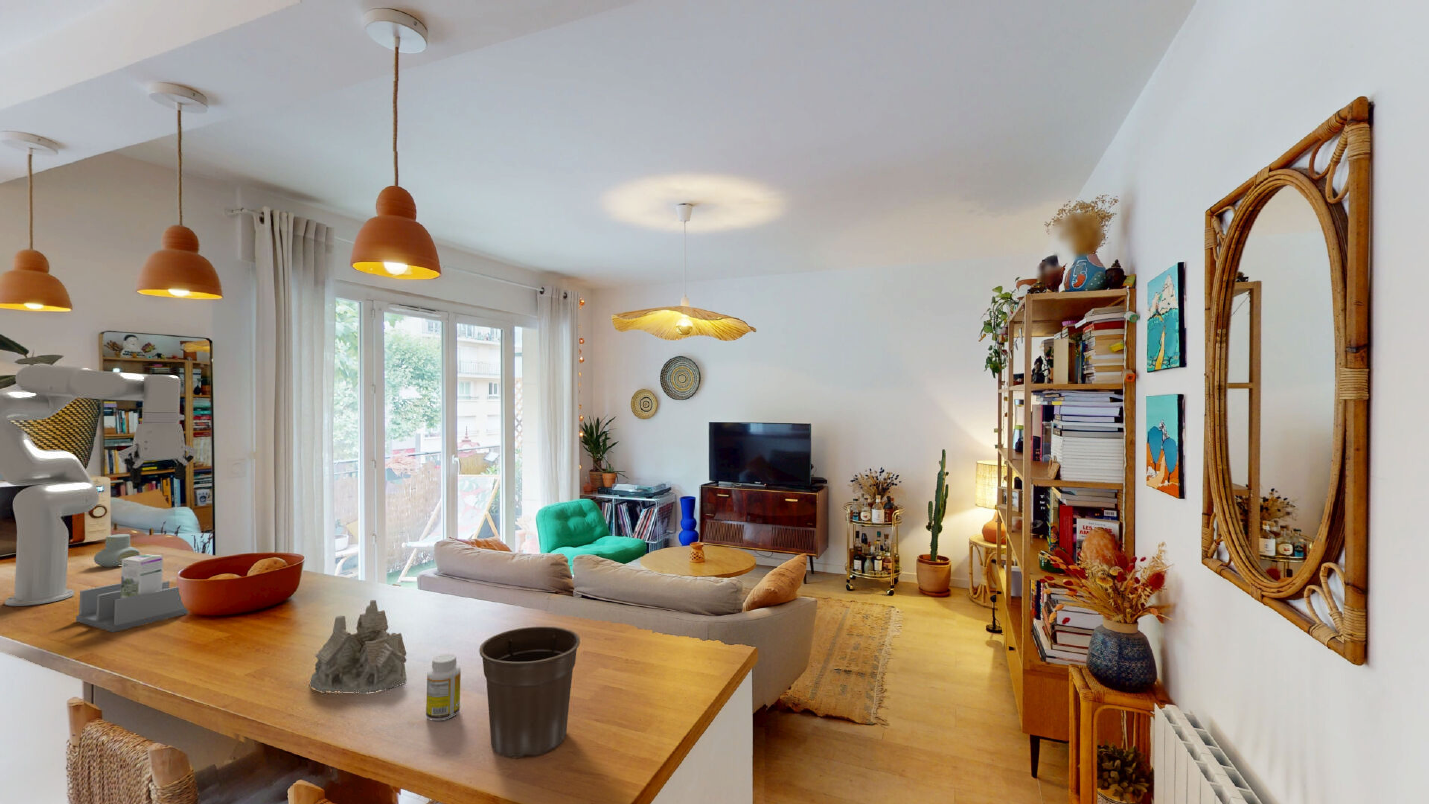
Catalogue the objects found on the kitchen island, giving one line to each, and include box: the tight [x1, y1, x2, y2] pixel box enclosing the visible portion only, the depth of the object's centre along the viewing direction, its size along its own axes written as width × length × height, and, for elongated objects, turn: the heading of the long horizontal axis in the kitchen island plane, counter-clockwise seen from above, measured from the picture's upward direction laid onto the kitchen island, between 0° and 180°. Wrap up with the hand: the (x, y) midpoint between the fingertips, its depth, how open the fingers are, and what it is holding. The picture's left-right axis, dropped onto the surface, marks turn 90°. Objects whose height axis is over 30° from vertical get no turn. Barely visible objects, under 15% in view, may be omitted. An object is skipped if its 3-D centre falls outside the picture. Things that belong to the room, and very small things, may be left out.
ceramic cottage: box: [309, 599, 408, 693], centre depth 121 cm, size 16×16×15 cm
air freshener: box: [93, 533, 141, 568], centre depth 202 cm, size 11×8×10 cm
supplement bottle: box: [425, 653, 462, 721], centre depth 108 cm, size 6×6×10 cm
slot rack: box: [75, 580, 189, 633], centre depth 153 cm, size 17×15×8 cm
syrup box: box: [120, 553, 164, 598], centre depth 151 cm, size 6×6×14 cm
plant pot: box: [478, 626, 581, 759], centre depth 101 cm, size 16×16×16 cm
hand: (158, 480), depth 166 cm, fingers open, 9 cm apart
